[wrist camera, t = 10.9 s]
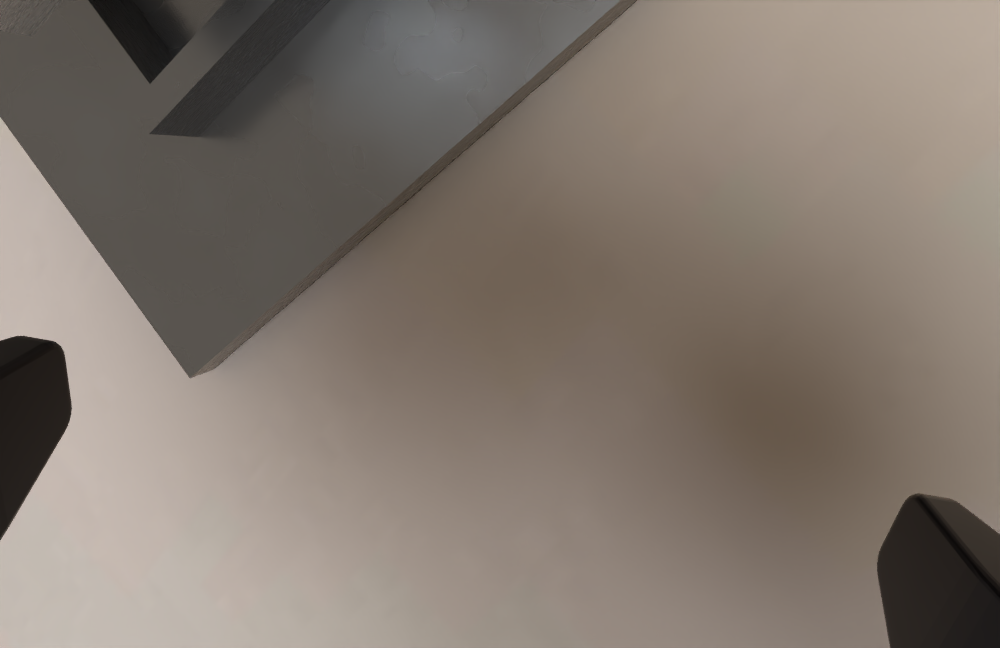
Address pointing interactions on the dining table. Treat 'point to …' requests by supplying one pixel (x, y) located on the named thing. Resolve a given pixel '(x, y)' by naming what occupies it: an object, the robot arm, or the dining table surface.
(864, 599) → the dining table surface
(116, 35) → the grey square stand
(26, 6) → the jack column
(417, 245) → the dining table surface
